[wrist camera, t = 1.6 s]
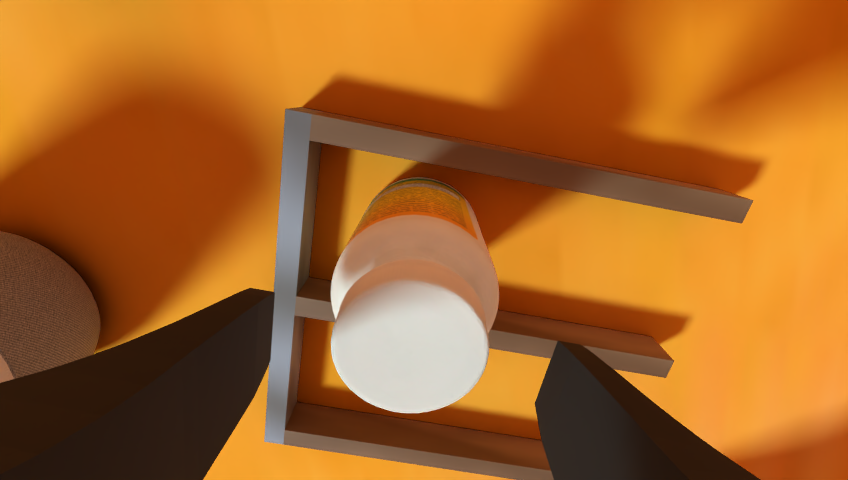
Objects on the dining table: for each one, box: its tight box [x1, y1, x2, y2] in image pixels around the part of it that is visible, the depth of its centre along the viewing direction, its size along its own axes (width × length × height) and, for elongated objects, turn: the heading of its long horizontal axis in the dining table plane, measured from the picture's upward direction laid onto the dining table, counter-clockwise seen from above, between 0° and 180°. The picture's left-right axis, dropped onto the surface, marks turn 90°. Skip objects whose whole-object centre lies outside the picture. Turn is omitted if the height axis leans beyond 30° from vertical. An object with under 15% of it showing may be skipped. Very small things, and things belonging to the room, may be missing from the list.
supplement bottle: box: [331, 177, 499, 413], centre depth 14 cm, size 5×5×10 cm
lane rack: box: [264, 107, 753, 480], centre depth 19 cm, size 17×19×2 cm
